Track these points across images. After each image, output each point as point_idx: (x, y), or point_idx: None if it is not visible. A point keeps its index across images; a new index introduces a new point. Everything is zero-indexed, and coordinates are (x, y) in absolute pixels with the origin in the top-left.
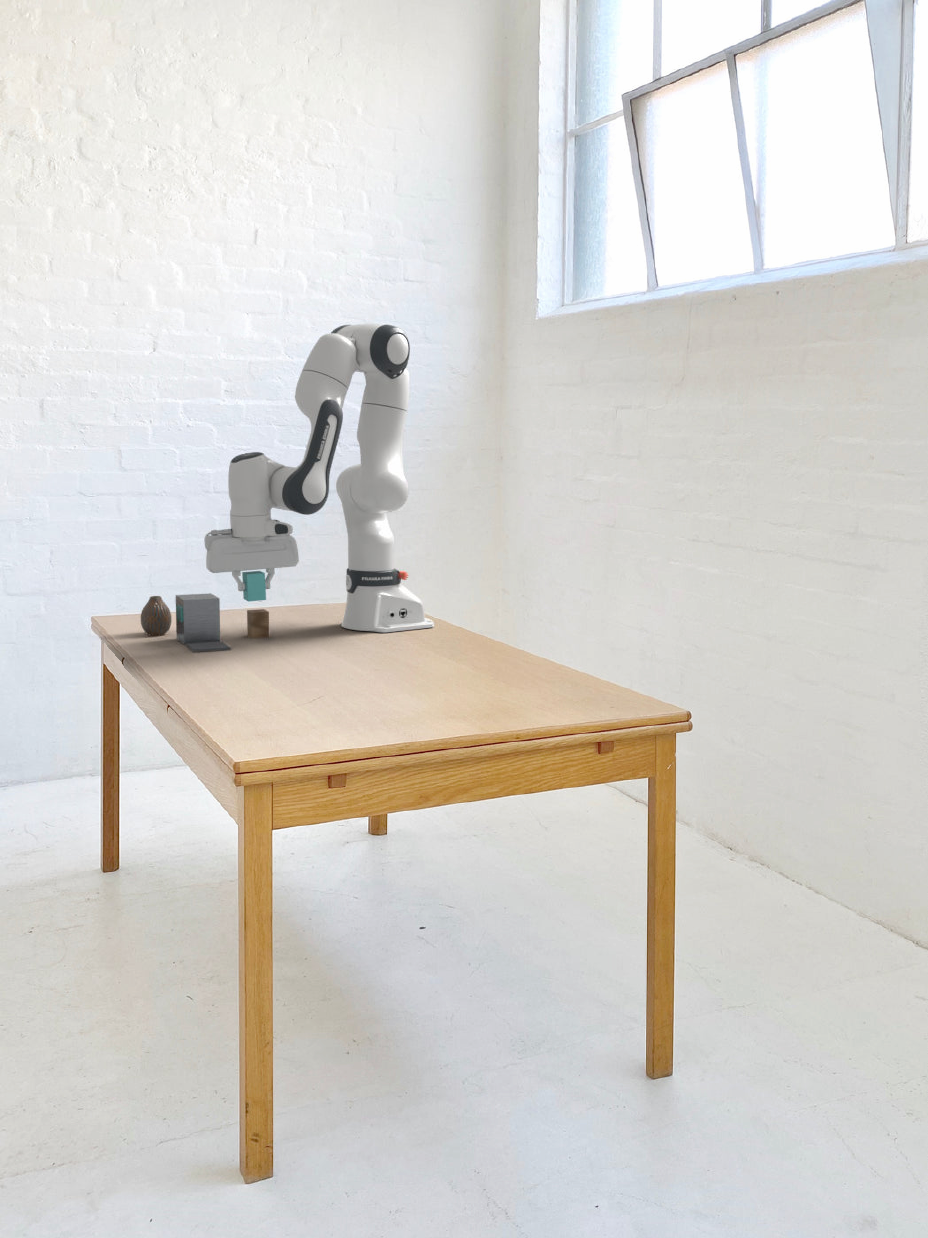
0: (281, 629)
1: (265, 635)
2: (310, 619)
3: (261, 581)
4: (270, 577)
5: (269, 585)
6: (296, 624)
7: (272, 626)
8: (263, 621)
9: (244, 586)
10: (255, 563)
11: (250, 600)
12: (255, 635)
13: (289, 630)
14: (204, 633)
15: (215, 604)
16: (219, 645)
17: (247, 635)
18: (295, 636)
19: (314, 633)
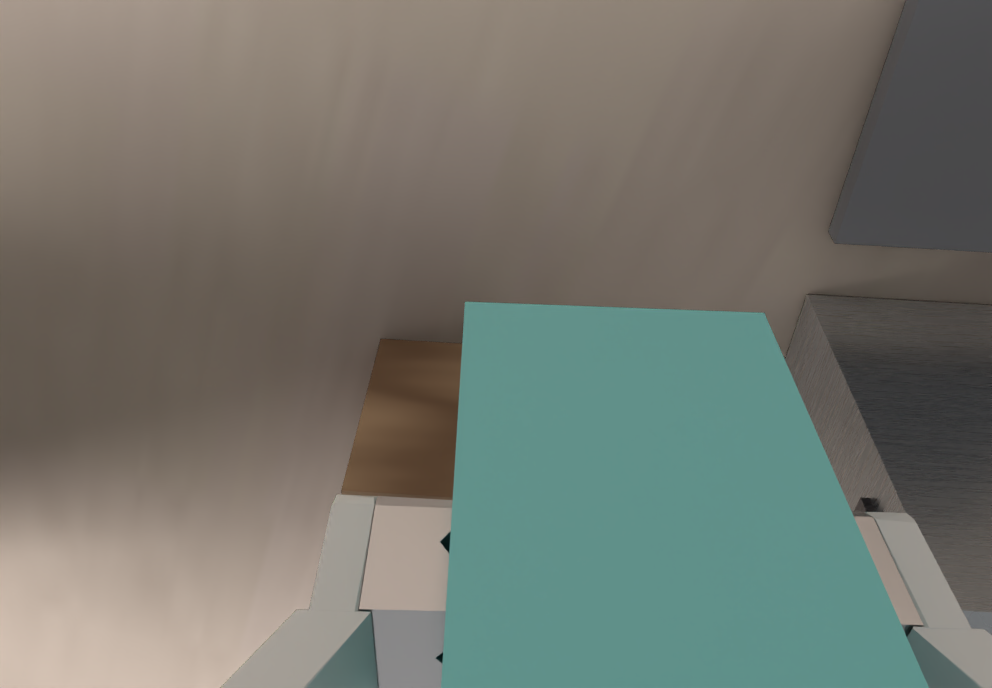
0: (238, 521)
1: (407, 350)
2: (37, 665)
3: (540, 565)
4: (281, 674)
5: (343, 530)
6: (127, 598)
7: (276, 598)
8: (406, 430)
9: None
10: None
11: (734, 317)
12: None
13: (191, 483)
14: (968, 353)
15: (968, 553)
16: (972, 79)
17: None
18: (174, 301)
19: (17, 348)
